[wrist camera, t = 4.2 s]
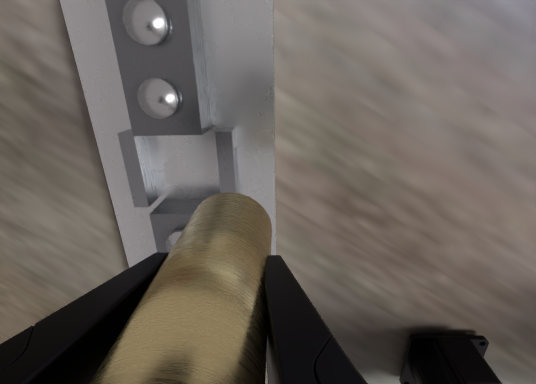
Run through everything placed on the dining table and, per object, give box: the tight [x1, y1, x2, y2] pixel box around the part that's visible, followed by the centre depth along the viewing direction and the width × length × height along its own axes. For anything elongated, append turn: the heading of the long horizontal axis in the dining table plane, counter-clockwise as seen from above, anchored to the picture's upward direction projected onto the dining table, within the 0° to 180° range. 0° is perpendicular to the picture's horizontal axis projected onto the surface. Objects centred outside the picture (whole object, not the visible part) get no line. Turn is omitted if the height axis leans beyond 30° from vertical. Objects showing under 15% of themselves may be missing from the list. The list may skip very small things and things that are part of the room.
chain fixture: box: [60, 0, 276, 268], centre depth 18 cm, size 22×12×4 cm, turn 1°
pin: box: [89, 192, 272, 384], centre depth 7 cm, size 3×3×7 cm
